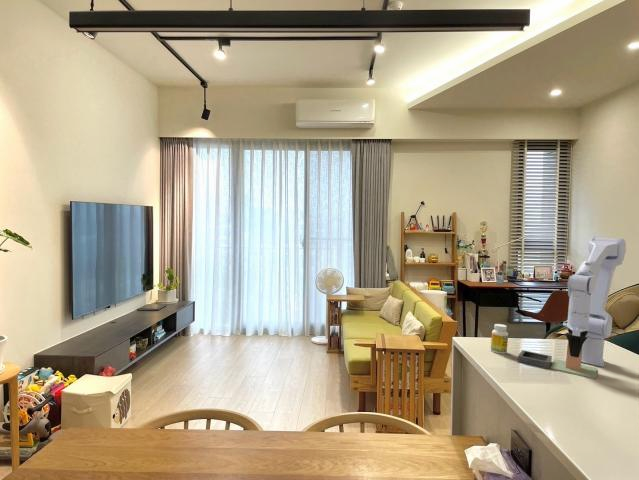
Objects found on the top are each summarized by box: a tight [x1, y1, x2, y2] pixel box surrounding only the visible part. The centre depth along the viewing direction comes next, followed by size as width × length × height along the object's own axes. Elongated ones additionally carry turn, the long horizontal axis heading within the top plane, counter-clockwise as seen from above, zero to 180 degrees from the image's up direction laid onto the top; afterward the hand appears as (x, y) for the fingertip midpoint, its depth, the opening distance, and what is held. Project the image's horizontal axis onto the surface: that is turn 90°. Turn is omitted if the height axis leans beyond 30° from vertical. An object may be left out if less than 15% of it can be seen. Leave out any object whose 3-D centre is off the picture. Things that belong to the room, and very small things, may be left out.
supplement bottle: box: [490, 323, 509, 355], centre depth 143 cm, size 5×5×10 cm
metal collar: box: [517, 349, 553, 370], centre depth 134 cm, size 9×9×2 cm
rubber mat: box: [550, 358, 597, 380], centre depth 129 cm, size 12×12×1 cm
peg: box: [565, 341, 583, 371], centre depth 129 cm, size 4×4×8 cm
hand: (575, 353), depth 129 cm, fingers open, 7 cm apart
